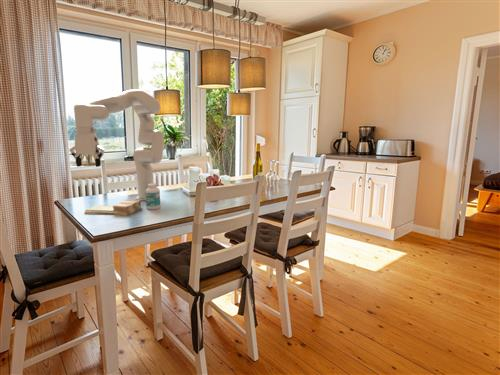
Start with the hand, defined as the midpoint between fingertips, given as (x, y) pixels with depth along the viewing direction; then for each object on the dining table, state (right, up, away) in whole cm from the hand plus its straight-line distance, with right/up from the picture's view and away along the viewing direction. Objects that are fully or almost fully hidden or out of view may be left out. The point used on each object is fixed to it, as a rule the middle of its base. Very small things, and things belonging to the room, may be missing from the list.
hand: (88, 166), depth 151 cm
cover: (+1, -23, +13) cm, 27 cm away
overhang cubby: (+7, -23, +13) cm, 27 cm away
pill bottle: (+26, -22, +18) cm, 39 cm away
